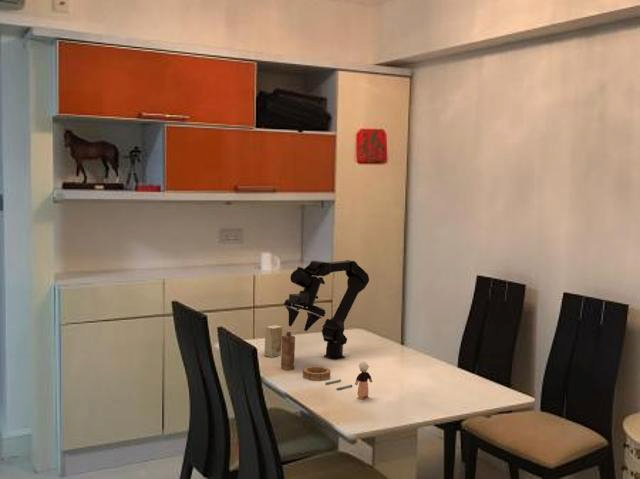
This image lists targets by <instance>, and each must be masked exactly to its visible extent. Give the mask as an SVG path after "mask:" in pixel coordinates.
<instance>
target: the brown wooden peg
mask: <svg viewBox="0 0 640 479" xmlns="http://www.w3.org/2000/svg"><path fill="white" fill-rule="evenodd" d="M295 345H296V336H295V335H292V332H291V331H286V334H285V335H282V346H281V355H280V358H281V360H280V361H281V362H280V369H281V370H284V371H285V372H288V371H293V370H294V369H295V350H296V346H295Z"/></svg>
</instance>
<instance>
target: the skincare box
mask: <svg viewBox="0 0 640 479" xmlns="http://www.w3.org/2000/svg"><path fill="white" fill-rule="evenodd" d="M264 334H265V336H264V353H263V354H264V356H265V357H270V358H275V357H279V356H281V353H282V336H283V326H280V325H276V324H273V325H269V326H265V332H264Z"/></svg>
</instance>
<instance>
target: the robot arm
mask: <svg viewBox="0 0 640 479" xmlns="http://www.w3.org/2000/svg"><path fill="white" fill-rule="evenodd" d="M337 272H345V275H346V277H347V280H346V281H347V282H346V283H347V284H346V285H347V289H346V291H345V293H344V295H343V297H342V299H341V300H340V303H339V305H338V307H337V308H336V311H335V313H334V315H333V317H332V318H330V319H329V318H327V319H325V322H324V324H323V325H322V327H321V328H322V329H321V333H322V334H321V335H322V337H323V341H324V342H326V347H325V354H324V355H323V357H325V358H328V359H331V360H338V359H339V360H340V359H343V358H344V359H345V358H346V356H345V355H344V354H343V352H344V345H346V344H347V341H348V338H347V337H346V335H345V334H344V332H345V321H346V319H347V316H348V315H349V313H350V311H351V309H352V307H353V304H354V302H355V301H356V299H357V297H358V295H359V294H360V292H362V291H363V290H364V289H365V288H366V287H367V285H368V283H369V281H370V277H369V274H368V273H367V272H366V271H365V270H364V269H363V268H362V267H361V266H359V264H358V263H357V262H356V261H355V260H349V259H346V260H340V261H338V260H337V261H328V262H326V261H320V260H312V261H310V263H309V264H308V265H307V266H306V267H305V268H304V267H302V266H297V268H296V269H295V270H294V271H292V273H291V274H290V282H291V283H292V284H295V285H296V286H298V287H300V288H302V289H303V290H300V291H299V292H298V293H289V294H288V298H287V299H285V300H284V304H283V305H284V307H285V308H286V310H287V312H288V326H289V327H292V326H293V324H294V323H295V321H296V319H297V317H298V315H299V314H300V310H302V311H306V314H307V319H306V322H305V326H304V331H305V332H307V331H308V330H310V328H312V326H313V325H314V324H315V323H316V322H317V321H319V320H320V319H323V318H324V317H325V315H326V310H325V308H323V307H319V306H317V305H314V304H315V302H316V300H318V299H319V296H318V294H319V293H318V292H319V289H320V287H321V285H325V284H326V282H325V280H324V277H326V276H328V275H330V274H331V273H337ZM322 317H323V318H322Z"/></svg>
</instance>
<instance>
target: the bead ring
mask: <svg viewBox="0 0 640 479" xmlns="http://www.w3.org/2000/svg"><path fill="white" fill-rule="evenodd" d="M302 378H303V379H305V380H309V381H314V382H316V381H318V382H321V381H327V380H330V378H331V369H330V368H328V367H325V366H317V365H315V366H314V365H312V366H306V367H304V368H303V370H302Z"/></svg>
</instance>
